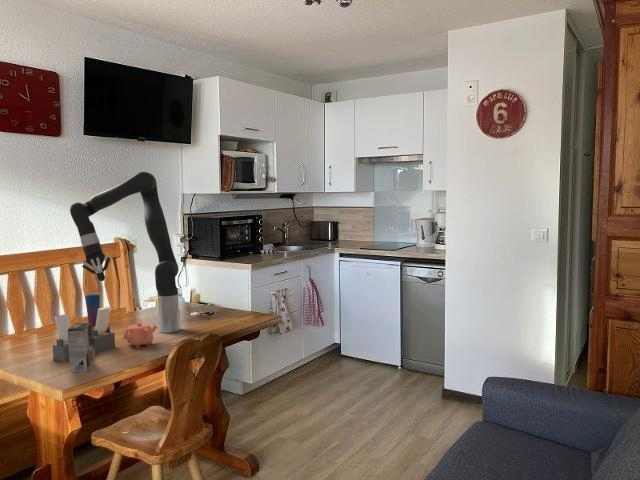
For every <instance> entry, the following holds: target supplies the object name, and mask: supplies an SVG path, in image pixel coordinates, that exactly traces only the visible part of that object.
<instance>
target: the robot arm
mask: <svg viewBox="0 0 640 480" xmlns="http://www.w3.org/2000/svg"><path fill="white" fill-rule="evenodd" d="M157 185H158V184H157V180H156V178H155V175H153V174H152V173H150V172H147V171H140V172H138V173H137V174H135V175H133V176H132V177H130V178H129V179H127V180H126V181H124V182H122V183H120V184H118V185H116V186H114V187H111V188H109V189H106V190H104V191H101V192H99V193H97V194H95V195H93V196H91V197H90V199H89V200H86V201H85V202H81V201H75V202H73V203H72V204H71V205H70V207H69V213H70V216H71V218H72V220H73V222H74V224H75V226H76V227H77V232H78V234H79V239H80V243H81V246H82V250H83V252H84V256H85V263H84V264H82V265H81V267H82V268H83V269H85V270H86V271H88V272H89V273H91V274H95V275H96V277H97V280H98V281H99V282H104V281H105V280H106V276H105V271H107V270H108V268H109V265H110V263H111V260H112V258H111V257H108V256H106V255H105V254H104V250H103V248H102V246H101V240H100V239H99V236H98V234H97V231H96V228H95V226H94V223H93V222H92V221H91V220H90V217H91V216H93V215H94V214H96V213H98V212H99V211H101V210H103V209H106V208H108V207H110V206H112V205H115V204H116V203H118V202H120V201H122V200H123V199H126V198H127V197H129V196H132V195H135V194H139V193H140V196H141V199H142V202H143V203H142V204H143V216H144V217H143V218H144V225H145V228H146V229H145V230H146V232H147V235H148V238H149V240H150V241H151V244H152V245H153V247H154V250H155V251H156V255H157V258H158V263H157V265H156V266H155V269H154V278H155V279H154V280H155V289H156V292H157V310H158V330H159V333H163V334H170V333H178V332H179V331H180V330H181V328H182V326H181V310H180V308H179V307H180V306H179V289H178V287H177V283H176V277H177V276H178V274H179V272H180V271H179V269H180V268H179V265H178V262H177V259H176V256H175V254H174V250H173V248H172V243H171V242H172V241H171V237H170V233H169V229H168V225H167V224H168V223H167V221H166V218H165V214H164V211H163V209H162V205H161V202H160V198H159V193H158V186H157ZM104 261H105V262H104ZM103 264H104V265H103ZM90 266H91V267H93V268H91V267H90Z"/></svg>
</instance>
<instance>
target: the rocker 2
mask: <svg viewBox="0 0 640 480" xmlns="http://www.w3.org/2000/svg"><path fill="white" fill-rule="evenodd" d="M110 314H111V307H109V306H104V307H100V309H98V312H97V319H96V325H94V326H95V327H94V330H98V334H100V333H103V332H106V331H107V328H108V326H109V319H110Z"/></svg>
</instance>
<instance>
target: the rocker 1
mask: <svg viewBox="0 0 640 480" xmlns="http://www.w3.org/2000/svg"><path fill="white" fill-rule="evenodd" d="M54 322H55V326H56V330H57V334H58V339H63V344H65V343H68V342H69V341H68V329H69V328H70V327H72V325H71V321H70V316H69V313H64V314H63V313H62V314H60V315H55V316H54Z"/></svg>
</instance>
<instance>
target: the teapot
mask: <svg viewBox="0 0 640 480" xmlns="http://www.w3.org/2000/svg"><path fill="white" fill-rule="evenodd" d="M156 329H158V326H157V325H155V324H154V325H152V327H151V325H149V324H147V323H143V322H139V321H138V322H136V324H131V325H128V327H127V328H125V329H124V330H123V339H125V340H126V341H127V343H129V346H130V347H133V346H135V347H136V348H137V349H138V348H140V347H141V346H143V345H145V346H151V343H153V342H154V335H153V334H154V332H155V330H156Z"/></svg>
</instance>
